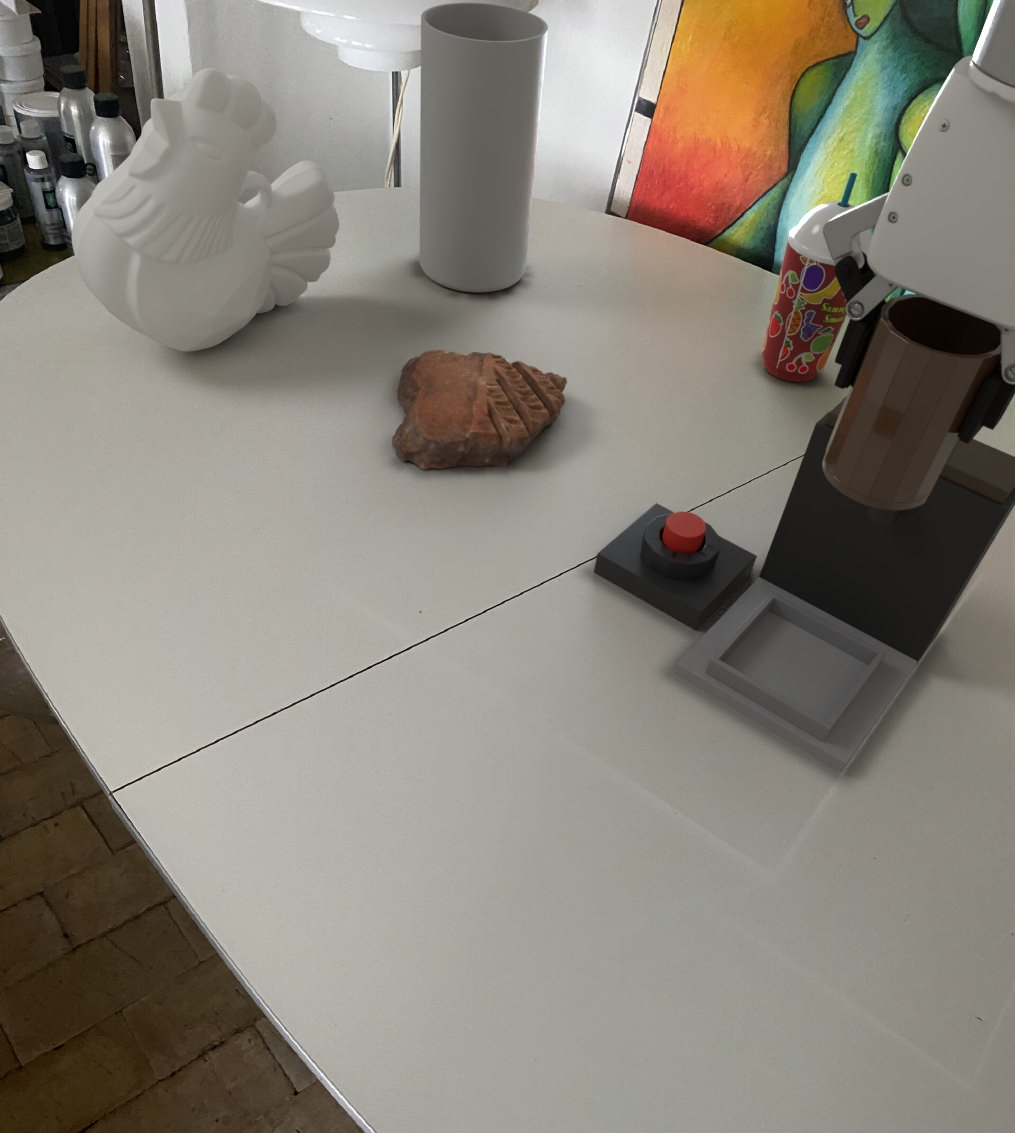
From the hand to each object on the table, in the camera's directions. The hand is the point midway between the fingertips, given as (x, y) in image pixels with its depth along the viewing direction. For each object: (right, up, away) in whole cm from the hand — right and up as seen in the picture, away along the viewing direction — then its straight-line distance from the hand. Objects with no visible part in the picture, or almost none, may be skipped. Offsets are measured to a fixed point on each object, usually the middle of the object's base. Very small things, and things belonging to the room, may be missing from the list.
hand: (909, 402), depth 55 cm
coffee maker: (0, -14, +20) cm, 24 cm away
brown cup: (0, -3, +4) cm, 5 cm away
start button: (-9, -5, +22) cm, 24 cm away
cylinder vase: (-27, +32, +58) cm, 71 cm away
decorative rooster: (-52, +20, +45) cm, 72 cm away
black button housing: (-9, -7, +25) cm, 27 cm away
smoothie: (+7, +17, +48) cm, 52 cm away
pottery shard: (-26, +9, +38) cm, 47 cm away
